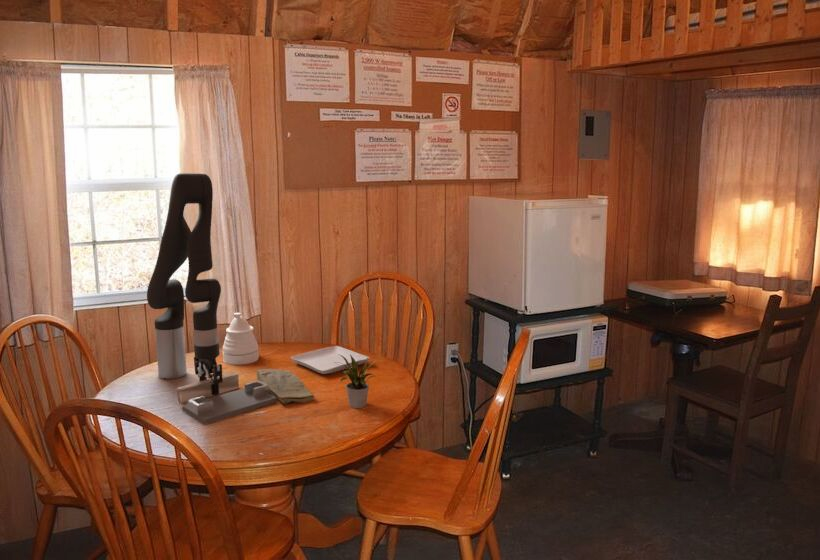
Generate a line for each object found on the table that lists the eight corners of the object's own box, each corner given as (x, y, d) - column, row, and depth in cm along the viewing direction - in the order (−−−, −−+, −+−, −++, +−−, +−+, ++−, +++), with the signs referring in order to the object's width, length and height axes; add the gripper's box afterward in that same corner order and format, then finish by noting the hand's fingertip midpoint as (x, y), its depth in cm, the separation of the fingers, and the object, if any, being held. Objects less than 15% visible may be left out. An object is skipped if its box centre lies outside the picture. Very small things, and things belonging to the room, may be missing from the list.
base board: (182, 410, 199) (181, 405, 199) (252, 390, 216) (252, 385, 215) (204, 424, 189) (204, 419, 189) (276, 402, 206) (276, 397, 205)
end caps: (188, 409, 196) (187, 399, 195) (258, 389, 212) (258, 380, 212) (197, 415, 192) (197, 405, 191) (269, 394, 208) (268, 385, 208)
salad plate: (289, 364, 242) (288, 355, 241) (336, 352, 256) (336, 344, 255) (322, 380, 226) (322, 370, 226) (371, 366, 240) (371, 357, 240)
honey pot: (254, 364, 240) (251, 316, 237) (218, 364, 241) (216, 316, 237) (262, 353, 253) (260, 308, 249) (228, 353, 253) (226, 307, 250)
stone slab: (286, 364, 233) (316, 388, 207) (286, 375, 234) (316, 401, 208) (251, 369, 227) (277, 395, 201) (251, 380, 228) (278, 408, 202)
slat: (178, 403, 205) (177, 387, 204) (234, 386, 220) (234, 372, 219) (182, 405, 204) (180, 389, 203) (238, 388, 218) (238, 374, 217)
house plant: (320, 407, 202) (319, 355, 199) (348, 393, 214) (347, 344, 210) (358, 417, 195) (358, 364, 191) (385, 402, 206) (384, 351, 203)
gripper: (228, 344, 206) (231, 394, 209) (206, 334, 216) (209, 383, 219) (206, 349, 200) (209, 400, 204) (184, 339, 210) (187, 388, 214)
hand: (209, 391), depth 211 cm, fingers open, 7 cm apart
